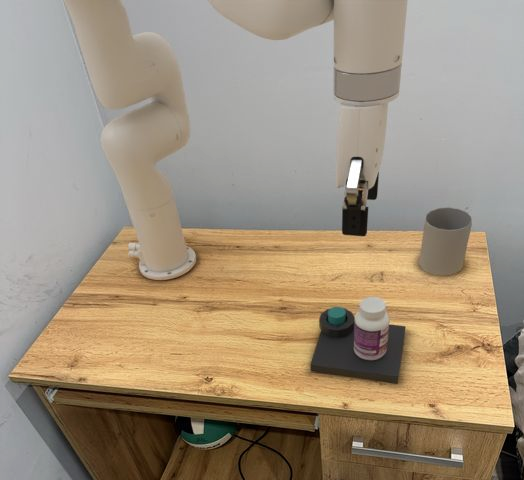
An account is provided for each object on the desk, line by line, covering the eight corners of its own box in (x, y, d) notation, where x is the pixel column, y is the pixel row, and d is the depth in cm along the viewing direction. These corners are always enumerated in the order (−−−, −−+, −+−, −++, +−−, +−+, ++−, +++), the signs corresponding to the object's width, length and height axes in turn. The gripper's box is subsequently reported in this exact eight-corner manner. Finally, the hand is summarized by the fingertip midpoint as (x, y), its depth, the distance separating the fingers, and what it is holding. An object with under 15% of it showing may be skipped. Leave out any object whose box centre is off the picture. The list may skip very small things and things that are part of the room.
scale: (308, 371, 82) (307, 356, 80) (323, 320, 91) (323, 305, 89) (397, 383, 78) (399, 368, 76) (405, 329, 87) (407, 314, 85)
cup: (450, 280, 96) (459, 235, 89) (411, 267, 100) (417, 223, 93) (470, 259, 100) (479, 214, 93) (431, 247, 104) (438, 203, 97)
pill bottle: (386, 362, 80) (390, 316, 73) (352, 360, 81) (353, 314, 74) (387, 339, 83) (391, 293, 77) (354, 338, 85) (356, 292, 78)
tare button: (326, 324, 86) (326, 316, 84) (329, 313, 88) (329, 305, 86) (343, 326, 85) (344, 318, 84) (347, 315, 87) (347, 307, 86)
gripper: (347, 59, 64) (344, 185, 76) (318, 109, 52) (320, 247, 64) (407, 58, 62) (395, 187, 74) (390, 109, 50) (379, 253, 62)
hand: (360, 215), depth 69 cm, fingers open, 9 cm apart
